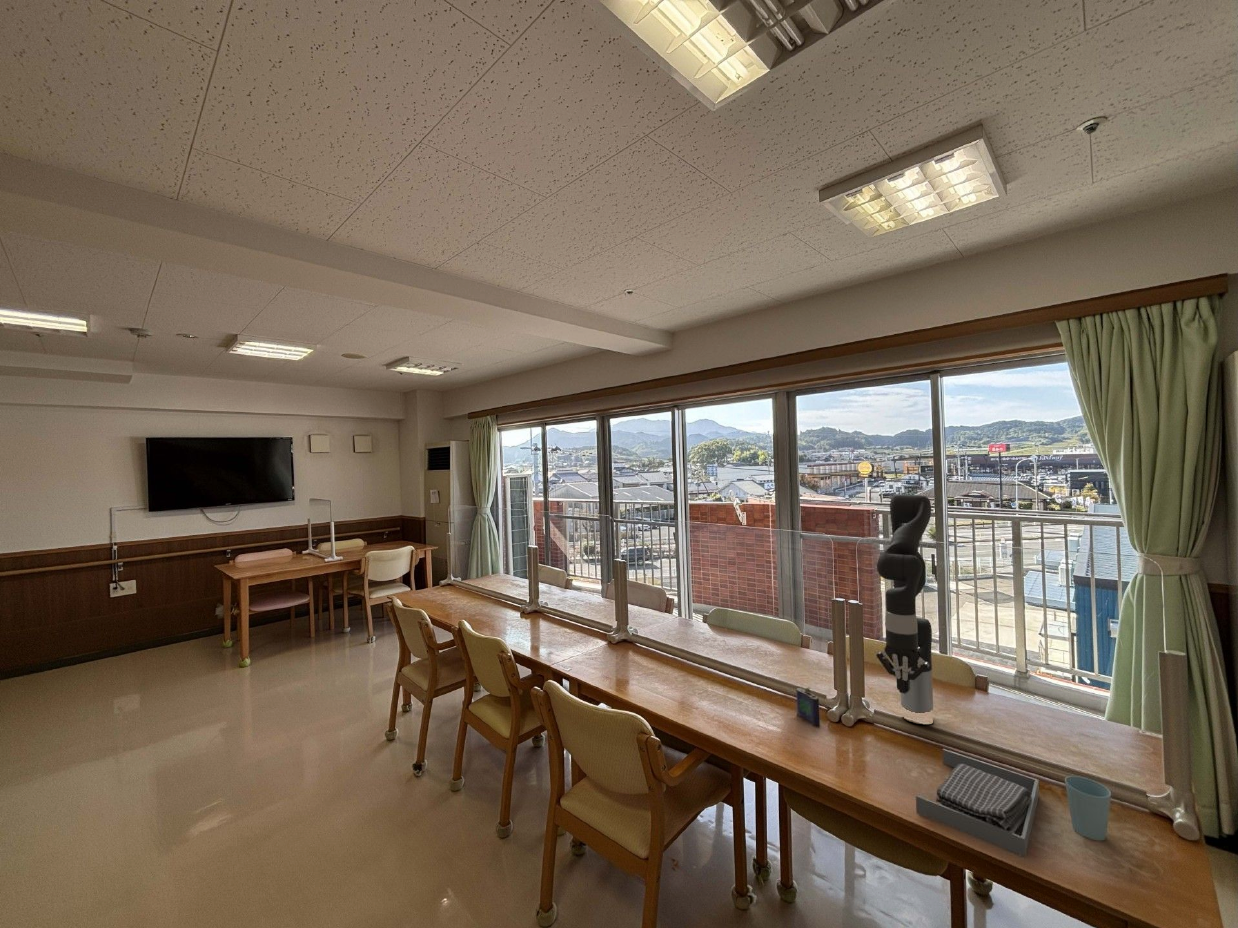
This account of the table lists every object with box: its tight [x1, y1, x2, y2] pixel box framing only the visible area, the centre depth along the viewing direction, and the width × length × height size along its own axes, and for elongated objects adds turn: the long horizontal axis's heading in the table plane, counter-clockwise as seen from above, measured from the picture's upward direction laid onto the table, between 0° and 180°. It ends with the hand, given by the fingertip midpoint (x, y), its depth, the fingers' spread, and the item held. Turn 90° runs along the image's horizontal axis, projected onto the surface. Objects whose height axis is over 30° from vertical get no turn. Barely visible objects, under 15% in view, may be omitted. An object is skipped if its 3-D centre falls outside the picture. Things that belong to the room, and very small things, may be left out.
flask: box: [795, 687, 821, 728], centre depth 165 cm, size 9×3×11 cm, turn 24°
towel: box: [935, 764, 1032, 836], centre depth 119 cm, size 15×18×8 cm
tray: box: [915, 748, 1040, 858], centre depth 123 cm, size 27×21×4 cm
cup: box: [1064, 775, 1112, 842], centre depth 113 cm, size 8×8×10 cm
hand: (903, 691), depth 134 cm, fingers closed
